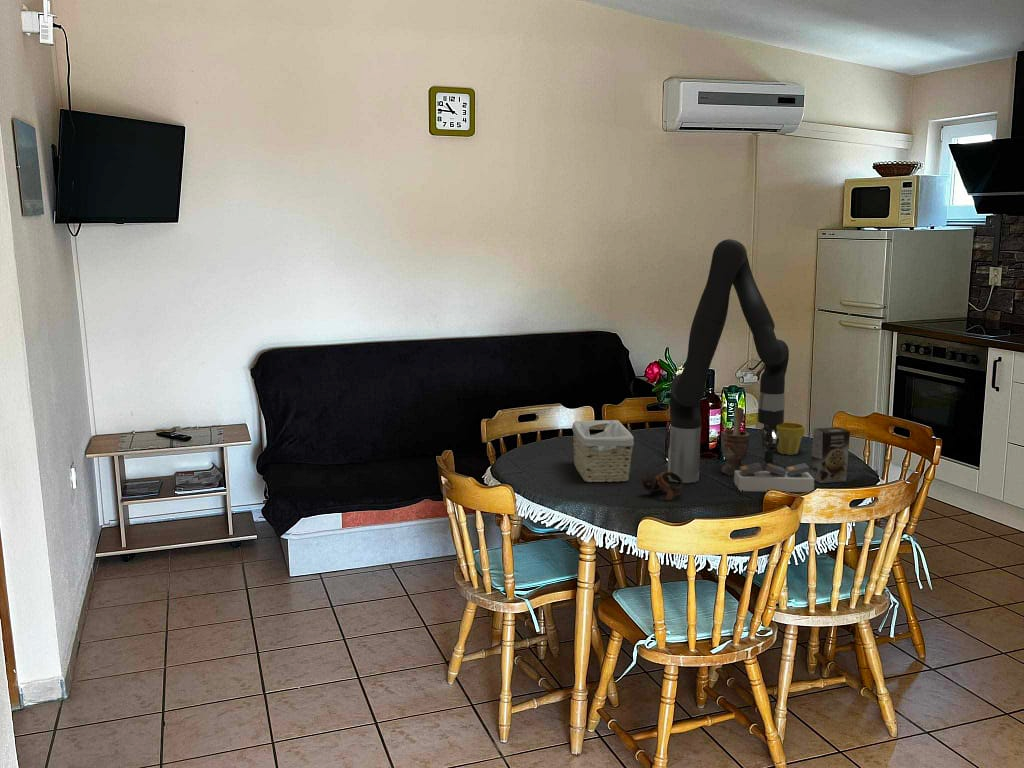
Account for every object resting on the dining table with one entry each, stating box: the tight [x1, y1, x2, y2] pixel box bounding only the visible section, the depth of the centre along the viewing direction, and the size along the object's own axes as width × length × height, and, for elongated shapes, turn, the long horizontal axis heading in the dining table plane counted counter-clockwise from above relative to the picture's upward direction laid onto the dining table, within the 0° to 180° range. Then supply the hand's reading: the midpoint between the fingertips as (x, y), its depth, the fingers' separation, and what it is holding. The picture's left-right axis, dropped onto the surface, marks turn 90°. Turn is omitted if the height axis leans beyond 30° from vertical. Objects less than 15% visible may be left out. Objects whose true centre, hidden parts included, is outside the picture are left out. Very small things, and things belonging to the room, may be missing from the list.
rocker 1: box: [739, 462, 764, 475], centre depth 277 cm, size 6×4×2 cm
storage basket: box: [571, 419, 635, 483], centre depth 291 cm, size 24×16×15 cm
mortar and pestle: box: [720, 407, 750, 476], centre depth 293 cm, size 12×9×20 cm
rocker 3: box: [785, 462, 811, 476], centre depth 276 cm, size 6×4×2 cm
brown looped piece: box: [641, 470, 684, 502], centre depth 269 cm, size 12×10×8 cm
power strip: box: [733, 470, 815, 493], centre depth 277 cm, size 22×8×5 cm, turn 87°
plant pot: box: [776, 421, 806, 456], centre depth 315 cm, size 10×10×10 cm
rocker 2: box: [761, 462, 786, 476], centre depth 277 cm, size 6×4×2 cm
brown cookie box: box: [809, 426, 851, 484], centre depth 284 cm, size 9×6×16 cm
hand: (768, 462), depth 276 cm, fingers closed
